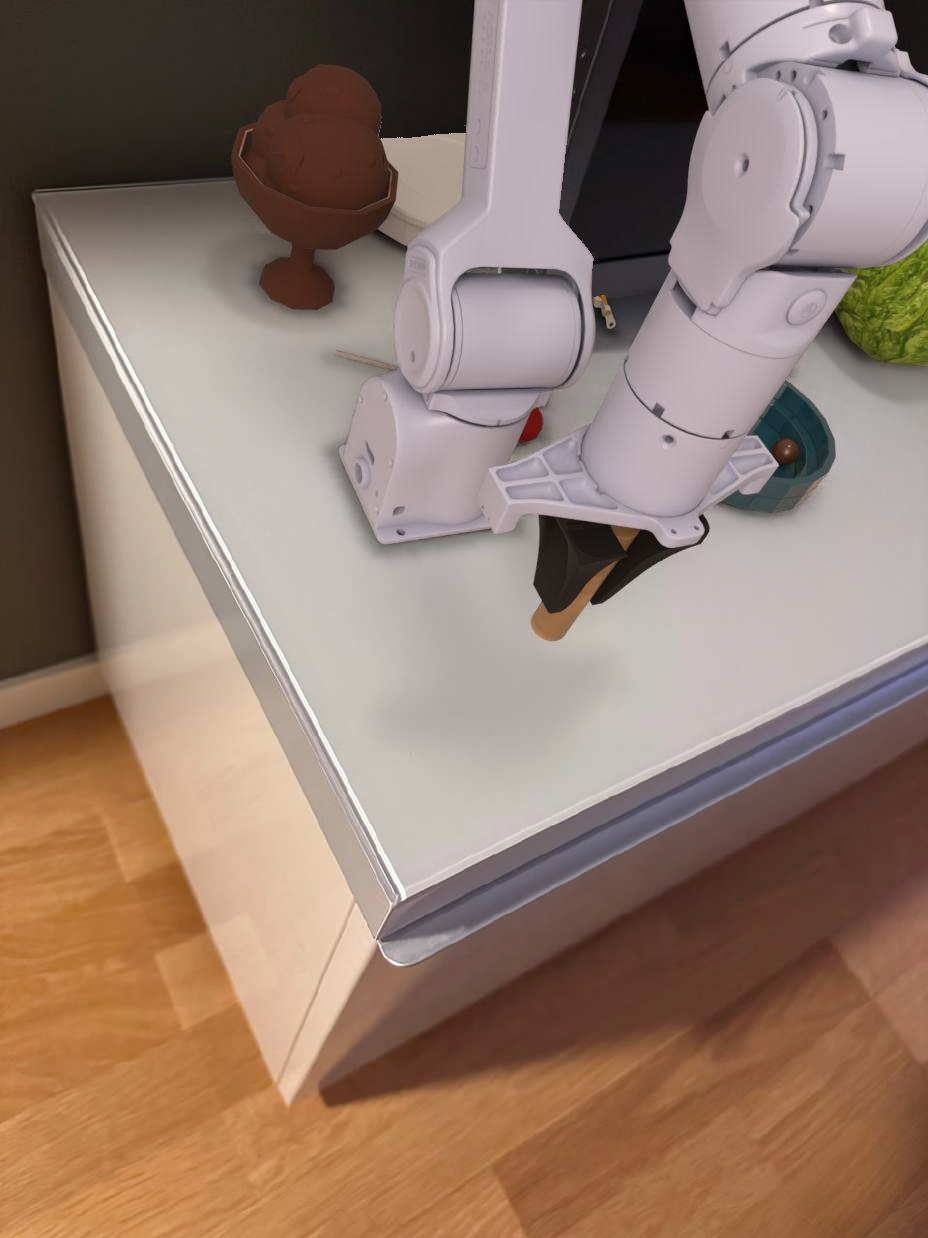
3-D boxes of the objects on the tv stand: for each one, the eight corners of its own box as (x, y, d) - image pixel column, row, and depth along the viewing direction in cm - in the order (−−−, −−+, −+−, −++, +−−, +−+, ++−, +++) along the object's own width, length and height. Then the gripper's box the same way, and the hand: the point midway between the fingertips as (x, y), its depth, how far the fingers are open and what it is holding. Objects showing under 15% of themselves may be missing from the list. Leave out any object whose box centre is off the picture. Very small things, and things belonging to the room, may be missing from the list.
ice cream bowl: (207, 235, 70) (224, 18, 58) (354, 245, 74) (396, 45, 63) (232, 331, 65) (255, 114, 53) (388, 336, 69) (441, 136, 57)
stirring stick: (540, 645, 49) (612, 541, 42) (524, 613, 50) (592, 506, 43) (572, 637, 50) (648, 534, 43) (556, 606, 51) (627, 500, 44)
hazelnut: (766, 443, 73) (790, 445, 73) (767, 467, 72) (791, 470, 73) (778, 432, 71) (803, 435, 71) (779, 457, 70) (805, 460, 71)
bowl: (707, 528, 66) (732, 494, 64) (619, 396, 72) (639, 360, 70) (841, 504, 72) (869, 473, 70) (749, 384, 78) (772, 351, 76)
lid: (594, 224, 86) (606, 193, 83) (450, 290, 74) (460, 256, 71) (453, 126, 90) (461, 93, 87) (297, 173, 78) (301, 137, 76)
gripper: (584, 483, 33) (472, 689, 43) (877, 443, 39) (717, 631, 49) (500, 344, 36) (415, 567, 46) (783, 329, 42) (652, 527, 53)
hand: (567, 593), depth 48 cm, fingers closed on stirring stick, 2 cm apart
